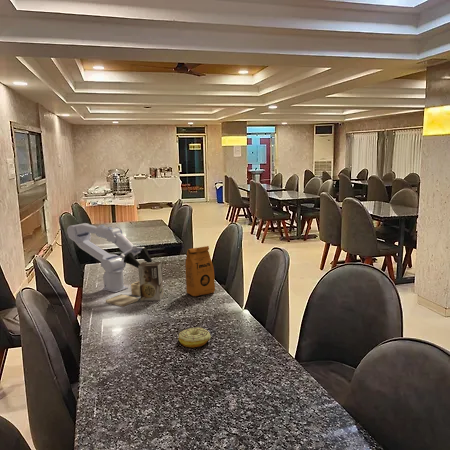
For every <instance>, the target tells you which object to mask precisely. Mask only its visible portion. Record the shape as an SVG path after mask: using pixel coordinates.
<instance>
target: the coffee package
mask: <svg viewBox="0 0 450 450" xmlns="http://www.w3.org/2000/svg"><path fill="white" fill-rule="evenodd" d="M209 246H210V245H207V246H205V245H204V246H201V247H200V246H199V247H193V248H188V249H187V251H186V256H185V266H184V267H185V285H186V286H185V289H186V294H189V295H190V296H193V297H198V296H203V295H209V294H214V293H215V291H216V286H215V285H216V282H215V269H214V268H215V267H214V264H213V261H212V259H211V255H210V251H209V250H210V247H209Z"/></svg>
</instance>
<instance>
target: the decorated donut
mask: <svg viewBox="0 0 450 450" xmlns="http://www.w3.org/2000/svg"><path fill="white" fill-rule="evenodd" d="M211 338H212V335H211V334H210V332H209V331H208V330H207V329H205V328H203V327H200V326H199V327H188V328H187V329H184V330H181V331H180V332H179V333H178V341H179V343H180V344H181V345H182V346H183V347H186V348H199V347H202V346H204V345H206V344H207V343H208V341H209V340H210V339H211Z"/></svg>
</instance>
